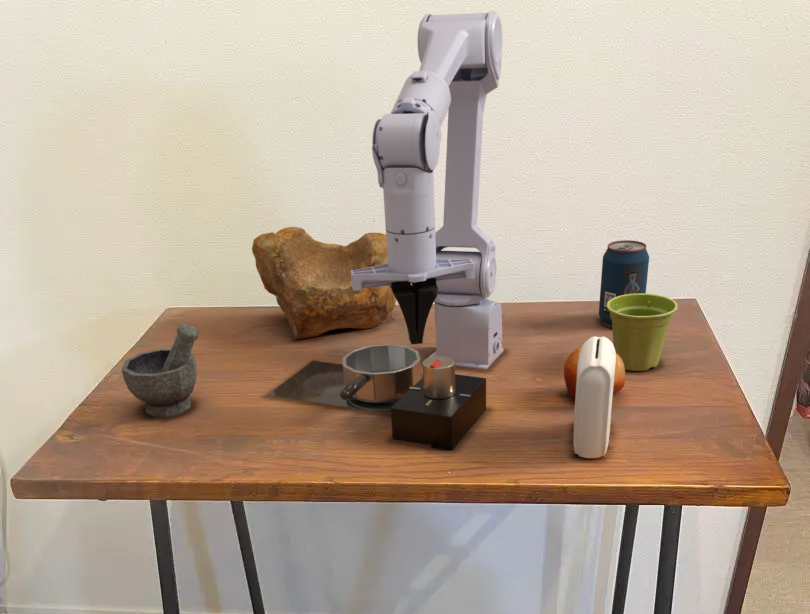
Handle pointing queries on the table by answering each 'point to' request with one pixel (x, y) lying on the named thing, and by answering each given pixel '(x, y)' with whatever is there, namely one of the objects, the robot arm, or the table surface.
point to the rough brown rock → (322, 280)
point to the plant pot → (640, 328)
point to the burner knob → (439, 377)
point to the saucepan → (380, 373)
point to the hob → (323, 388)
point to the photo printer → (594, 397)
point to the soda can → (622, 273)
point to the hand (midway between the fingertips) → (415, 341)
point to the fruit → (571, 373)
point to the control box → (439, 413)
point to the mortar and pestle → (164, 375)
